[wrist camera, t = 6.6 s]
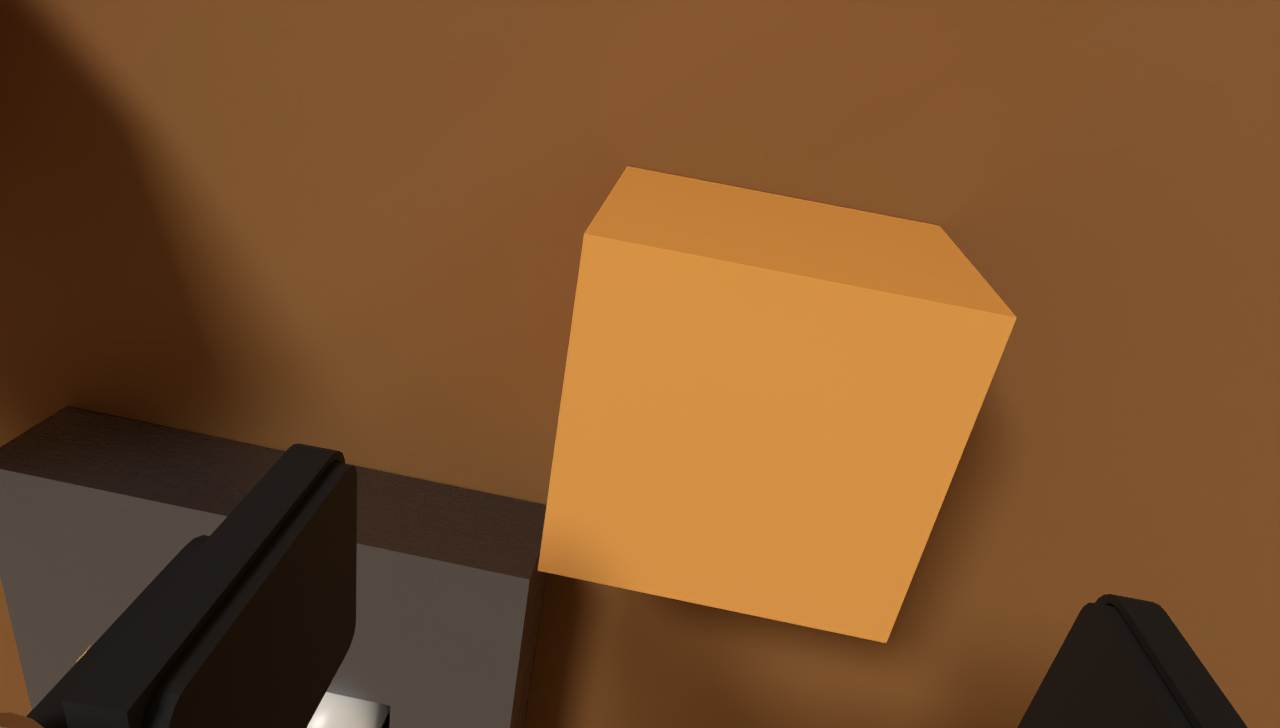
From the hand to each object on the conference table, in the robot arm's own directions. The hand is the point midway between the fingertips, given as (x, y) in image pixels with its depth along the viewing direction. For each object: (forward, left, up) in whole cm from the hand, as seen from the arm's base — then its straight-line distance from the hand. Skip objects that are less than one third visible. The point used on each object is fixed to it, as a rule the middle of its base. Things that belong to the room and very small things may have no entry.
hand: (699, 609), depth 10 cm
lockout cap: (-1, 0, -10) cm, 10 cm away
